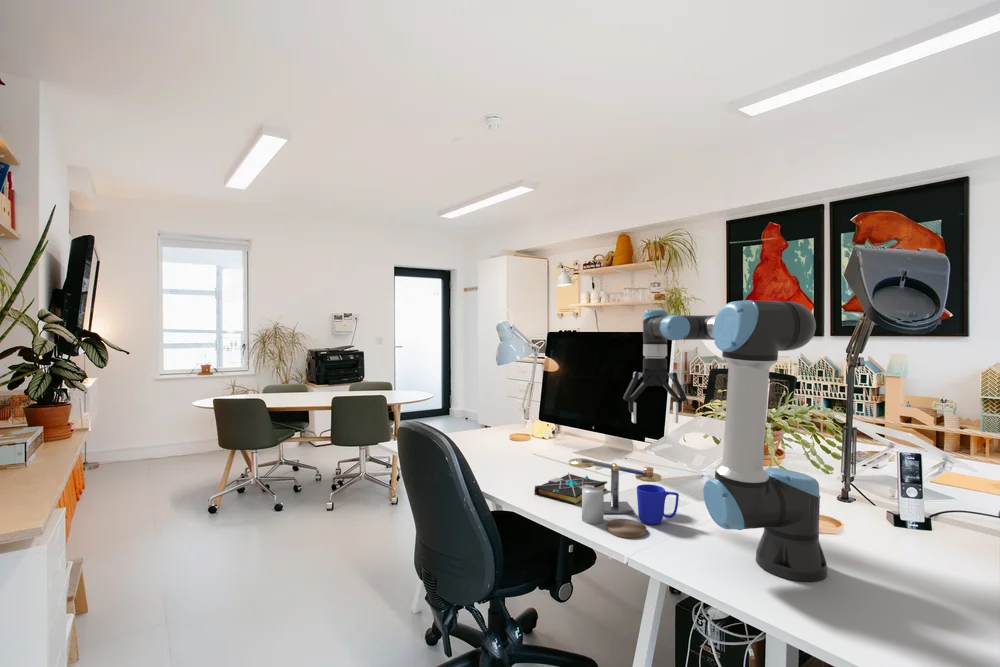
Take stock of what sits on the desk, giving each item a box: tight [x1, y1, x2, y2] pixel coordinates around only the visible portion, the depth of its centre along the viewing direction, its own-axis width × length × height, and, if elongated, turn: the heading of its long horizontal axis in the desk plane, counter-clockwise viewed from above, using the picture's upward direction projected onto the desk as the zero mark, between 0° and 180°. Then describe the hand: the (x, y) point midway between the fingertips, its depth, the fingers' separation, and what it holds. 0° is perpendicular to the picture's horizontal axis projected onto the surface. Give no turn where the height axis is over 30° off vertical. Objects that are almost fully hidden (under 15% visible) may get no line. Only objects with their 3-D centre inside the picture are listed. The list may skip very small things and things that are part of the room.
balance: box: [568, 457, 662, 515], centre depth 164 cm, size 8×30×16 cm, turn 92°
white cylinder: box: [581, 487, 605, 525], centre depth 155 cm, size 6×6×9 cm
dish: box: [606, 518, 647, 539], centre depth 147 cm, size 11×11×1 cm
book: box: [533, 472, 608, 506], centre depth 181 cm, size 22×17×5 cm
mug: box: [636, 483, 680, 526], centre depth 153 cm, size 8×12×10 cm
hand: (654, 422), depth 167 cm, fingers open, 13 cm apart
